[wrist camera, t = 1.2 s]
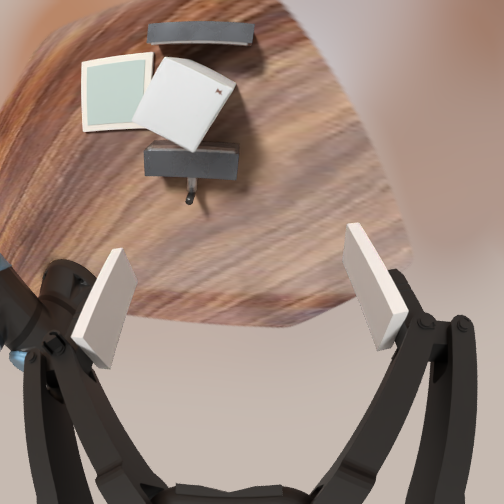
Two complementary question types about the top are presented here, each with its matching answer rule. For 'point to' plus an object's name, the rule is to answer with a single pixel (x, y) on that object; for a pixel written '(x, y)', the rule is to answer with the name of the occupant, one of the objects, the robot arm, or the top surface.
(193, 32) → the vise
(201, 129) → the supplement box
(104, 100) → the plate
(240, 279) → the top surface
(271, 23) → the top surface
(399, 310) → the robot arm
